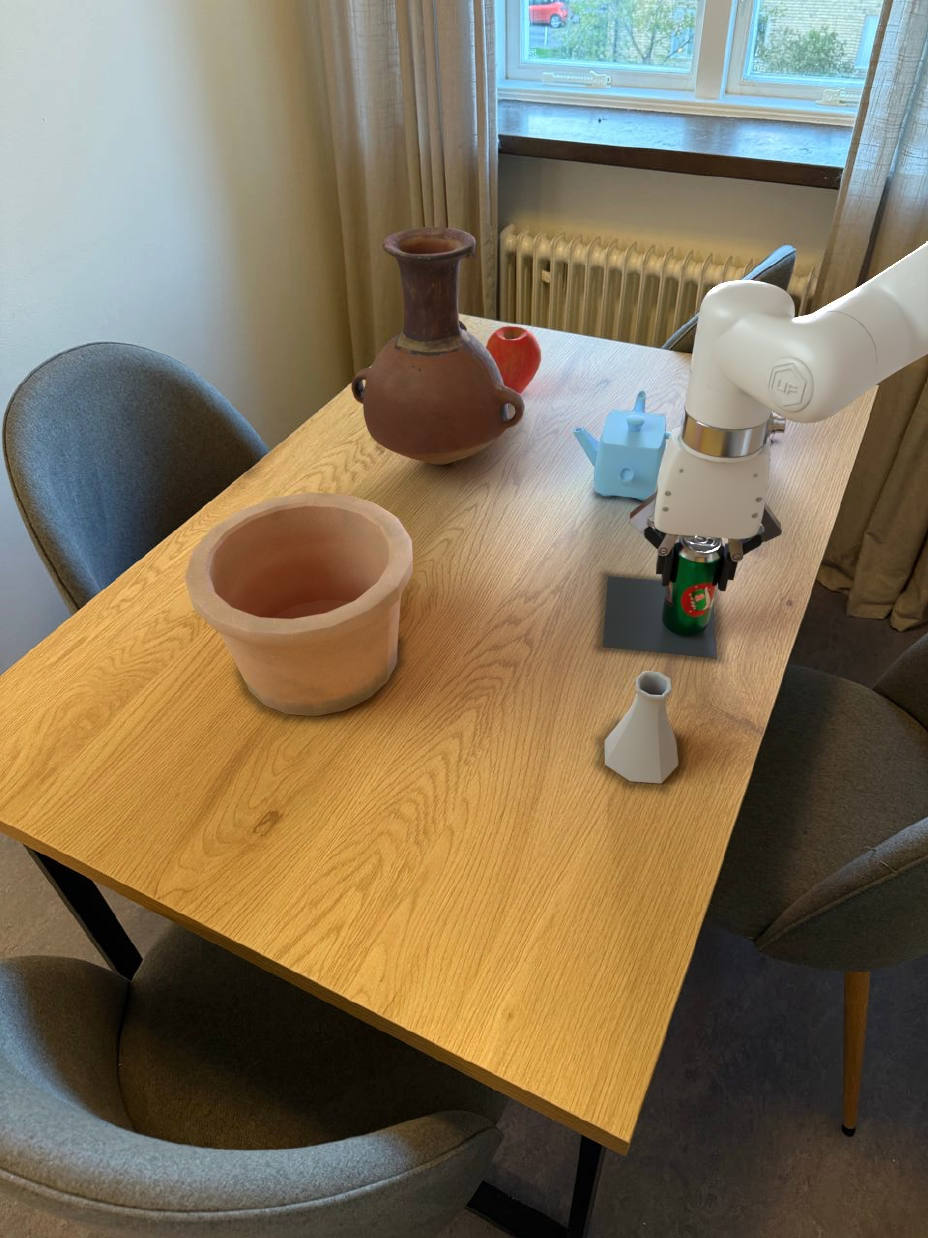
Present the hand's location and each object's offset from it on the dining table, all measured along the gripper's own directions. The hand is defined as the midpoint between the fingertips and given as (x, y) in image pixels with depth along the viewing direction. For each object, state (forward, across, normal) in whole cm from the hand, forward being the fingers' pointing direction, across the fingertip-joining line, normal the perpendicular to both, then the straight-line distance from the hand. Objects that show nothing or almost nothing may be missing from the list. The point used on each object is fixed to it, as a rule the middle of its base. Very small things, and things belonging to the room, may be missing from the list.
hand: (692, 579), depth 88 cm
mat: (+7, +3, -2) cm, 8 cm away
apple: (+7, +26, -51) cm, 57 cm away
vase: (+7, +34, -31) cm, 46 cm away
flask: (+7, +4, +18) cm, 20 cm away
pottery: (+7, +39, +10) cm, 41 cm away
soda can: (+7, 0, 0) cm, 7 cm away
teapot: (+7, +8, -28) cm, 29 cm away
